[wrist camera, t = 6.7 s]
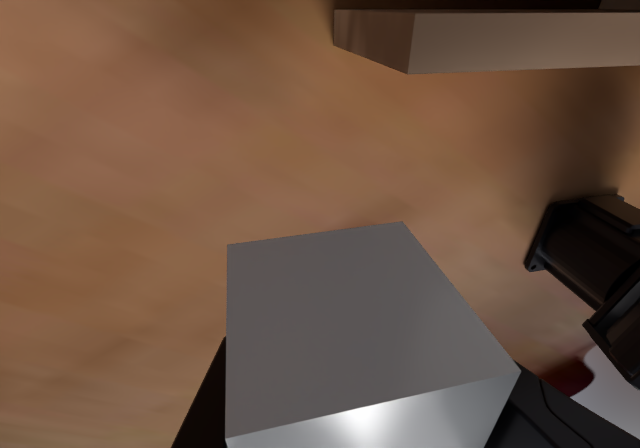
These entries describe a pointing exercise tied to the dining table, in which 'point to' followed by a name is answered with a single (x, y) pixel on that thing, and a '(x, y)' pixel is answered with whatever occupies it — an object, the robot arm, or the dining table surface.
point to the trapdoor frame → (492, 37)
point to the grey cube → (355, 346)
